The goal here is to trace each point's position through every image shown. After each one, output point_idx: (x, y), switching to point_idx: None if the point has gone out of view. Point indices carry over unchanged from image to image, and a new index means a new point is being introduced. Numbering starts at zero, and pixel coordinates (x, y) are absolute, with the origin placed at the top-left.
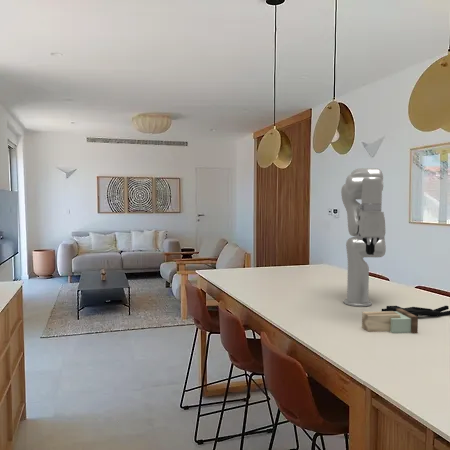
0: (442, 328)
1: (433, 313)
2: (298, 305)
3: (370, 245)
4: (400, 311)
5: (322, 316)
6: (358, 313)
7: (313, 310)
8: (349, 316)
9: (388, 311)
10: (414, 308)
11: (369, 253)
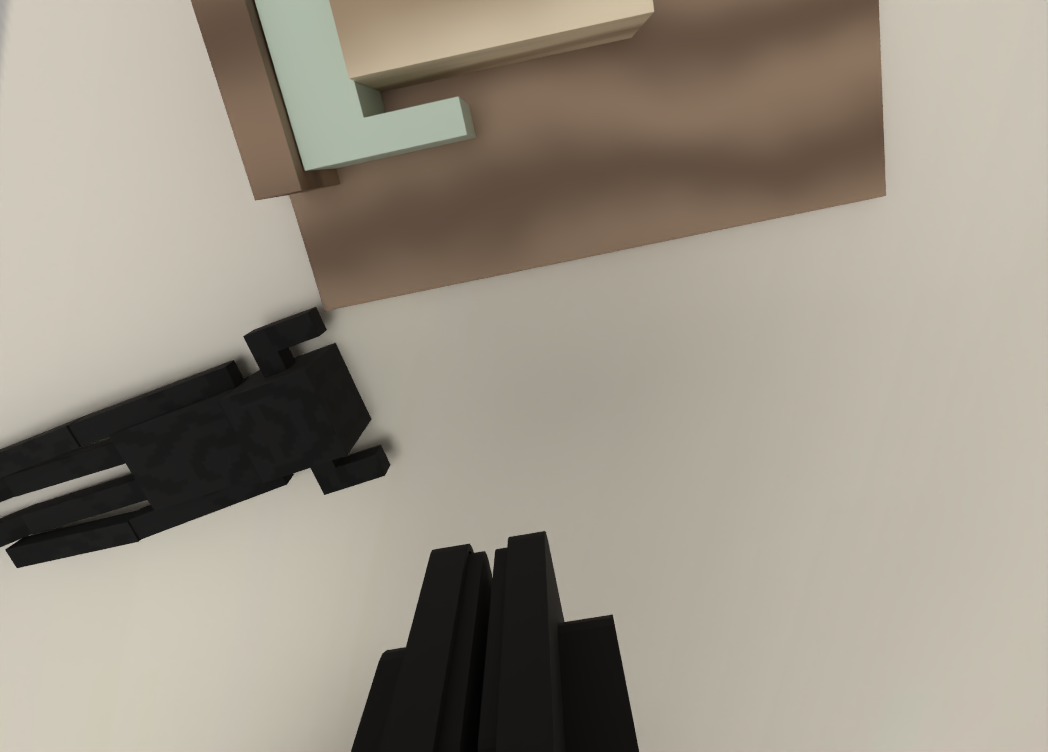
0: (10, 159)
1: (13, 445)
2: (940, 647)
3: (532, 739)
4: (278, 105)
5: (841, 380)
6: (551, 489)
7: (865, 531)
8: (636, 403)
9: (395, 60)
10: (132, 516)
11: (548, 562)
